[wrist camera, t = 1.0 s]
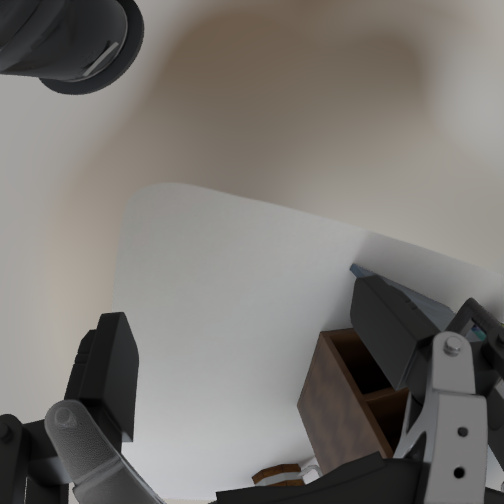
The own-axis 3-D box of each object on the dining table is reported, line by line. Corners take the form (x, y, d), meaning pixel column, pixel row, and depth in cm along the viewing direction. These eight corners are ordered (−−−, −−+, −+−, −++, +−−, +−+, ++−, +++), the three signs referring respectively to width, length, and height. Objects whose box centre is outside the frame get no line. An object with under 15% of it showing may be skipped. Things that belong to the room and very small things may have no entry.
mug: (271, 484, 69) (283, 526, 56) (241, 478, 63) (252, 526, 50) (329, 457, 66) (347, 501, 53) (303, 449, 60) (322, 502, 46)
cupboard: (320, 331, 41) (399, 482, 20) (445, 312, 46) (525, 402, 25) (296, 405, 49) (341, 523, 28) (409, 379, 54) (464, 463, 33)
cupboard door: (377, 223, 34) (526, 354, 14) (466, 280, 44) (554, 364, 23) (349, 269, 37) (468, 420, 16) (445, 311, 46) (525, 400, 25)
